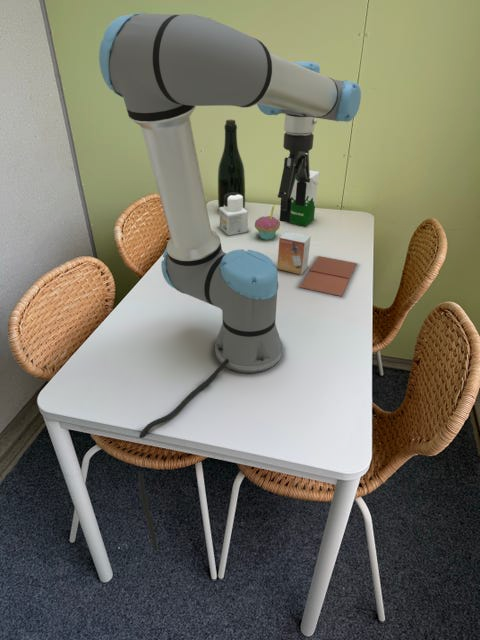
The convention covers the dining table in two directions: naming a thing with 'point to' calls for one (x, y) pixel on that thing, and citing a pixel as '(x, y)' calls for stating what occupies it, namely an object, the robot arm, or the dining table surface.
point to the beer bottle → (230, 166)
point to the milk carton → (305, 213)
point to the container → (233, 214)
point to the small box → (293, 252)
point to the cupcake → (267, 226)
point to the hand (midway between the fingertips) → (292, 213)
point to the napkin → (329, 276)
